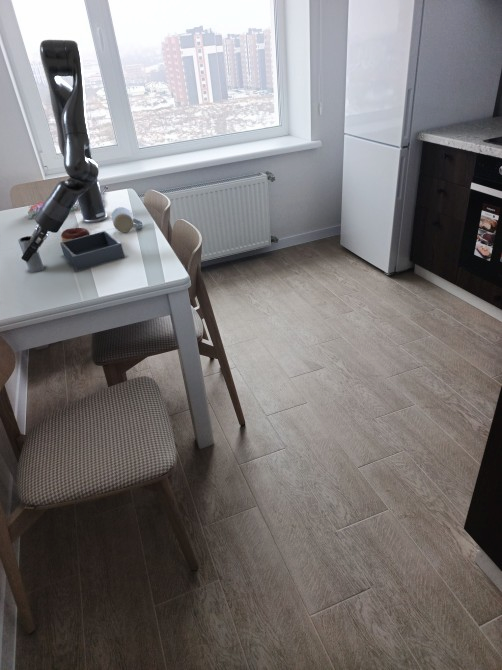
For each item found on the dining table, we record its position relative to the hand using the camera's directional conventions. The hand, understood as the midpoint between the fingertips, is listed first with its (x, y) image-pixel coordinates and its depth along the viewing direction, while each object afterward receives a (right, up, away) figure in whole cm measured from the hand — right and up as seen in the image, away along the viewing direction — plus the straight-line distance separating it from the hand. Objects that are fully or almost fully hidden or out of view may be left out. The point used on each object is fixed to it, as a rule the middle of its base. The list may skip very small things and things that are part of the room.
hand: (25, 256), depth 149 cm
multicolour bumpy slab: (-11, +30, +59) cm, 67 cm away
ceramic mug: (+25, +15, +30) cm, 42 cm away
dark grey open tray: (+19, +1, +8) cm, 20 cm away
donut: (+8, +9, +23) cm, 26 cm away
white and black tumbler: (+2, -4, +3) cm, 5 cm away
